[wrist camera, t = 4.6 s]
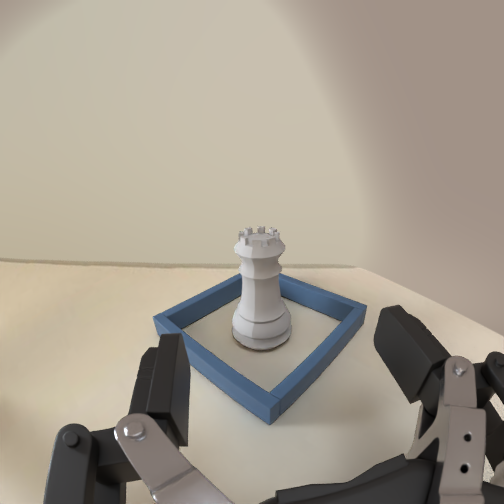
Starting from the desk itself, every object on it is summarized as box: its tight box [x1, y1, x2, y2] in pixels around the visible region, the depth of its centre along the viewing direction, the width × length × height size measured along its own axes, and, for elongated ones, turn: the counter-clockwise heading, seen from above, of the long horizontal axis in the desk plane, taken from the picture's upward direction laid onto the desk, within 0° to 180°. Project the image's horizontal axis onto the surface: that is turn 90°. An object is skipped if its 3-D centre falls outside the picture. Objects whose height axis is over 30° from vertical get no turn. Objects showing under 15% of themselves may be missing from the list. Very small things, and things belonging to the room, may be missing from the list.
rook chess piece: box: [232, 226, 291, 350], centre depth 19 cm, size 4×4×8 cm
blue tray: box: [153, 273, 367, 425], centre depth 20 cm, size 12×12×2 cm
